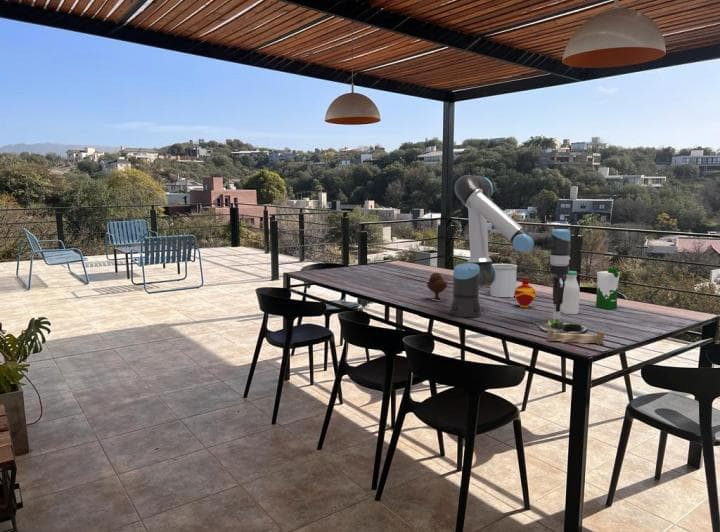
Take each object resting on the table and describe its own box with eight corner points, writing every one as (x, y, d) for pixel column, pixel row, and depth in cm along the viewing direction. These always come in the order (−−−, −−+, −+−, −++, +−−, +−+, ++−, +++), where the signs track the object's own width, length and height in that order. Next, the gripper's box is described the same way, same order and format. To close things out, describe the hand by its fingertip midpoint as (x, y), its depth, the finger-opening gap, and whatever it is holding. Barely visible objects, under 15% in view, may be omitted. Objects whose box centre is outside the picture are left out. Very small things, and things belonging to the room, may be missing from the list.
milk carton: (609, 310, 244) (612, 269, 242) (592, 307, 252) (594, 267, 249) (619, 308, 249) (622, 268, 247) (602, 305, 257) (604, 266, 254)
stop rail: (548, 341, 187) (548, 330, 186) (546, 339, 190) (547, 328, 189) (603, 344, 184) (604, 332, 183) (601, 342, 186) (601, 331, 186)
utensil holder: (489, 297, 276) (491, 266, 274) (487, 293, 291) (488, 263, 289) (517, 298, 274) (519, 266, 272) (513, 294, 289) (515, 263, 286)
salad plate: (526, 330, 205) (527, 319, 205) (545, 323, 218) (545, 312, 218) (575, 339, 192) (575, 327, 192) (591, 331, 205) (591, 320, 205)
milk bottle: (580, 315, 233) (582, 272, 231) (562, 314, 235) (564, 272, 232) (576, 311, 241) (578, 270, 238) (559, 311, 242) (561, 270, 240)
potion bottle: (512, 307, 249) (514, 278, 247) (514, 304, 258) (515, 275, 257) (535, 309, 245) (536, 279, 243) (536, 305, 255) (537, 276, 253)
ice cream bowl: (448, 302, 263) (449, 274, 261) (427, 302, 263) (428, 273, 261) (445, 298, 273) (446, 271, 272) (425, 298, 274) (425, 271, 272)
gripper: (572, 266, 209) (569, 322, 212) (565, 263, 222) (562, 315, 225) (553, 266, 210) (550, 321, 213) (547, 263, 223) (544, 314, 226)
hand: (556, 318), depth 219 cm, fingers closed
